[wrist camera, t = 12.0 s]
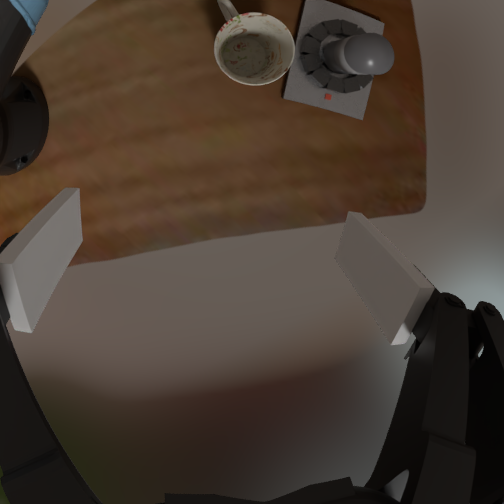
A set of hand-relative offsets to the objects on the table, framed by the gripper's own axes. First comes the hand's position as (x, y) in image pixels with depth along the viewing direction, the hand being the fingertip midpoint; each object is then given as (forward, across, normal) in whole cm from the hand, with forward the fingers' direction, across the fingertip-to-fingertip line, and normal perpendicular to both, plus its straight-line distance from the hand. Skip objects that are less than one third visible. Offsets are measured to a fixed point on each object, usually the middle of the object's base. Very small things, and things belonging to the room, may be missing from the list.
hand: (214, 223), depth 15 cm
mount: (+30, +16, +14) cm, 37 cm away
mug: (+30, +2, +13) cm, 33 cm away
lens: (+29, +16, +14) cm, 36 cm away
